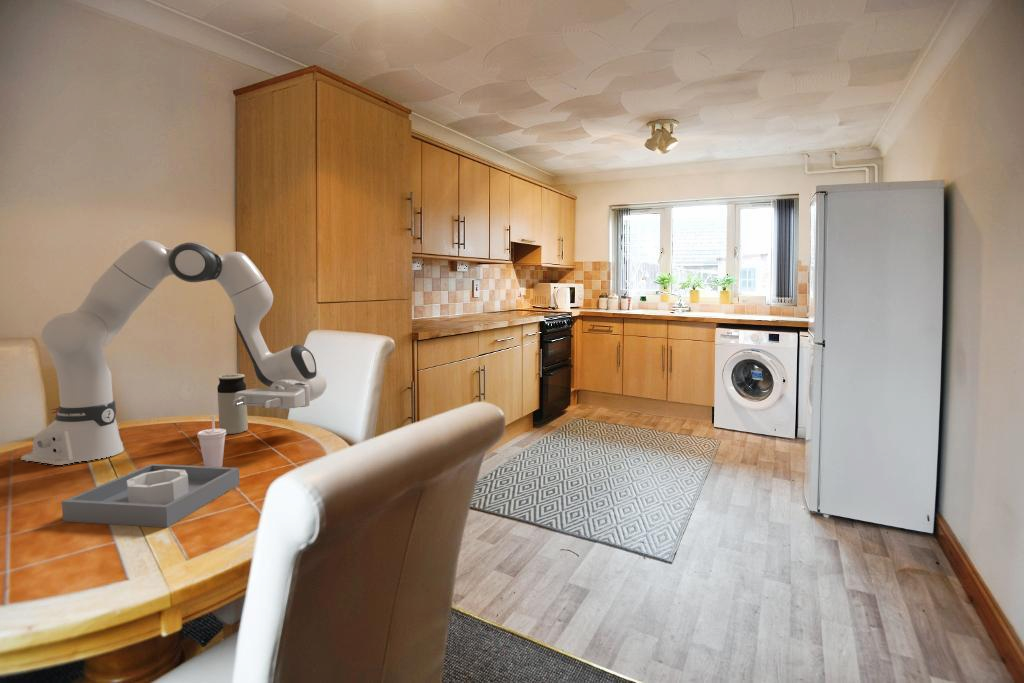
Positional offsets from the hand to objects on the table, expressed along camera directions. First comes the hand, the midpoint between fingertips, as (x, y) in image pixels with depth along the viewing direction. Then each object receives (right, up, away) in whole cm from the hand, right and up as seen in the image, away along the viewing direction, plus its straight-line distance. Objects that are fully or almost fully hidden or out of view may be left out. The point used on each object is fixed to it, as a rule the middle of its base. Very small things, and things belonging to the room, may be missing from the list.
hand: (249, 404), depth 141 cm
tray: (-4, -17, -30) cm, 35 cm away
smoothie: (-4, -15, -10) cm, 19 cm away
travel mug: (-17, -12, +24) cm, 32 cm away
